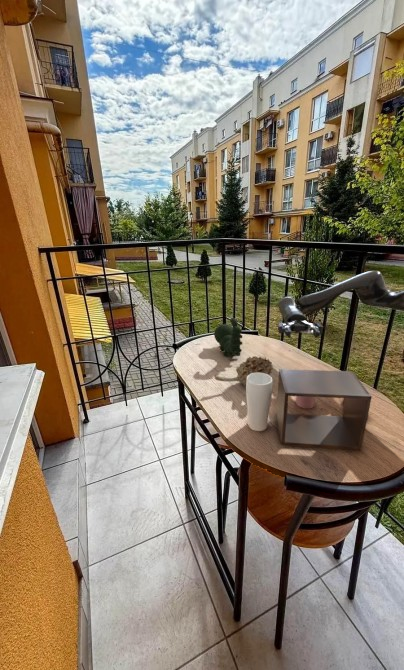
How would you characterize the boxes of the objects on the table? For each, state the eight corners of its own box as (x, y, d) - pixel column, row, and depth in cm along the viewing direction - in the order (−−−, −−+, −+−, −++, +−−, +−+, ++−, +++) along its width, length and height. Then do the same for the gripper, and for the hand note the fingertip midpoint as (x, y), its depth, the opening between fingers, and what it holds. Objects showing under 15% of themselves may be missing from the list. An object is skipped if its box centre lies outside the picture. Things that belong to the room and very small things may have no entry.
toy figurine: (247, 363, 118) (228, 338, 140) (249, 322, 110) (229, 302, 132) (225, 366, 116) (210, 340, 138) (226, 324, 108) (210, 304, 130)
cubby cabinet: (344, 419, 79) (352, 371, 74) (361, 450, 68) (371, 396, 63) (276, 415, 82) (279, 369, 76) (281, 445, 71) (285, 392, 65)
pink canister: (311, 399, 89) (315, 371, 86) (315, 409, 84) (319, 379, 81) (294, 398, 90) (296, 370, 86) (297, 408, 85) (299, 379, 81)
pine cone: (262, 373, 106) (262, 349, 103) (277, 384, 98) (279, 358, 95) (209, 386, 99) (208, 361, 95) (221, 400, 90) (221, 373, 87)
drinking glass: (273, 433, 75) (276, 383, 70) (248, 435, 75) (249, 385, 69) (265, 417, 81) (268, 371, 76) (242, 419, 81) (243, 373, 76)
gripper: (276, 310, 105) (281, 323, 90) (315, 310, 103) (327, 323, 88) (275, 329, 108) (280, 345, 93) (313, 329, 106) (325, 345, 91)
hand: (303, 334), depth 90 cm, fingers open, 8 cm apart
